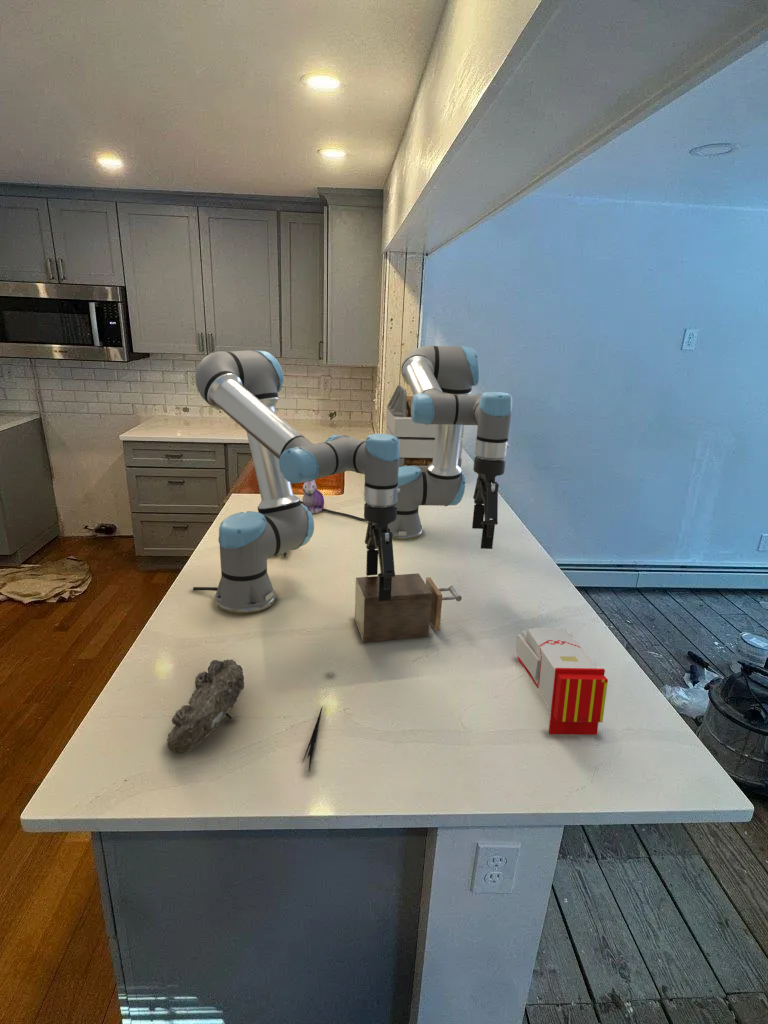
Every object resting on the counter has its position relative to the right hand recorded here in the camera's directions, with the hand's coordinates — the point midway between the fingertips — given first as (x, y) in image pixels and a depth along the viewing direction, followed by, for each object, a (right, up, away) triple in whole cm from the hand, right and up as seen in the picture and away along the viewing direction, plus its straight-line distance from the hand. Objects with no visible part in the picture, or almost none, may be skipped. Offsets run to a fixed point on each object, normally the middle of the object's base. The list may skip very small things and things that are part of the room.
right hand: (481, 537), depth 145 cm
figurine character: (-58, -6, +37) cm, 69 cm away
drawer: (-17, -21, -3) cm, 27 cm away
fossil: (-58, -32, -37) cm, 76 cm away
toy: (+10, -31, -25) cm, 41 cm away
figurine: (-52, +7, +73) cm, 90 cm away
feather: (-37, -33, -37) cm, 62 cm away
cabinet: (-23, -22, -4) cm, 33 cm away
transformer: (-8, +25, +130) cm, 132 cm away
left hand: (-26, -11, -9) cm, 30 cm away
